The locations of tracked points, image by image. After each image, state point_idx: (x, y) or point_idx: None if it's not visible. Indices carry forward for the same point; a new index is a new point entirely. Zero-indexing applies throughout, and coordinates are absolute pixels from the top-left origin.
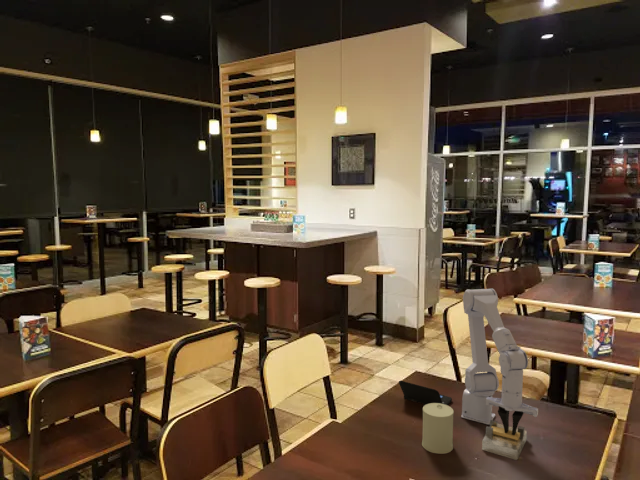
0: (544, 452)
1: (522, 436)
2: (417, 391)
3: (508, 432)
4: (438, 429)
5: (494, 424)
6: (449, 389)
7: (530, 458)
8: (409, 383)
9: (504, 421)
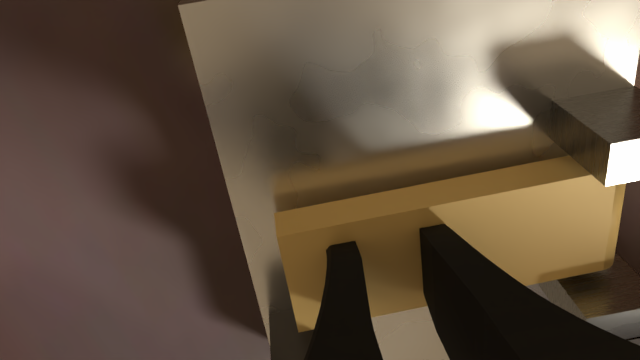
0: (83, 287)
1: (274, 316)
2: None
3: (409, 257)
4: None
5: (595, 293)
6: None
7: (113, 114)
8: None
9: (521, 318)
